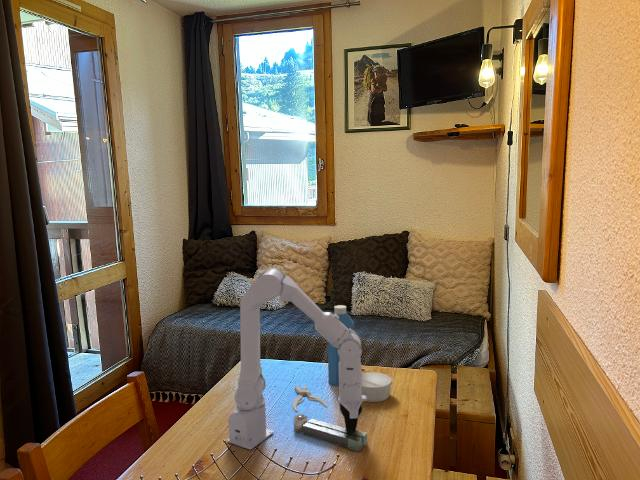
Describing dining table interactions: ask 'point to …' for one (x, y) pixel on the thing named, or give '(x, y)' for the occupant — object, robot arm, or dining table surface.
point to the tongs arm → (340, 429)
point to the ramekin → (376, 386)
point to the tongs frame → (327, 434)
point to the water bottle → (332, 351)
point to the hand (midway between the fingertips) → (351, 431)
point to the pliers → (306, 392)
